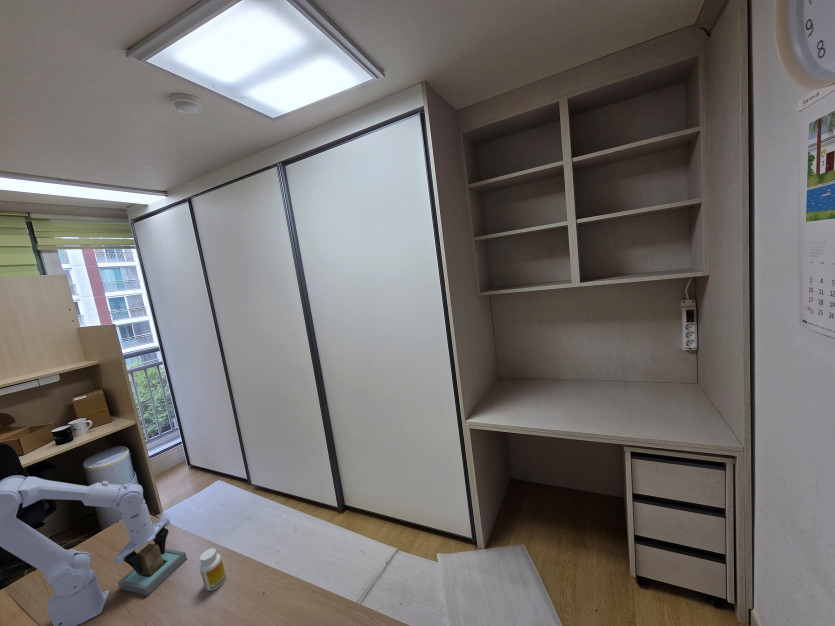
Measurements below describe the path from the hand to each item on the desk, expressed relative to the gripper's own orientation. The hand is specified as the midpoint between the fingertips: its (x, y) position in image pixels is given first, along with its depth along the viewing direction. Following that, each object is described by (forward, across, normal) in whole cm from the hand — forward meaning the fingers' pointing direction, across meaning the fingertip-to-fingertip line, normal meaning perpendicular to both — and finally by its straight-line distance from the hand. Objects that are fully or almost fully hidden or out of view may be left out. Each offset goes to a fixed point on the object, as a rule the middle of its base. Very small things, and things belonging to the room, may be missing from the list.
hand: (151, 562), depth 102 cm
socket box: (+4, 0, 0) cm, 4 cm away
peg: (+3, 0, 0) cm, 3 cm away
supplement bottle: (+4, +1, -24) cm, 24 cm away
